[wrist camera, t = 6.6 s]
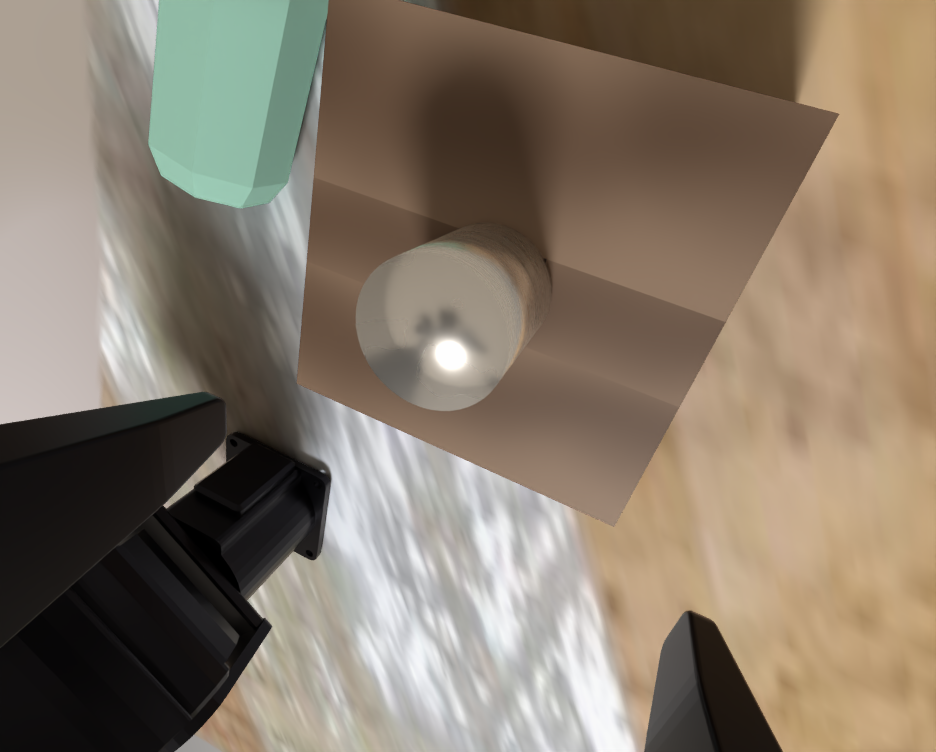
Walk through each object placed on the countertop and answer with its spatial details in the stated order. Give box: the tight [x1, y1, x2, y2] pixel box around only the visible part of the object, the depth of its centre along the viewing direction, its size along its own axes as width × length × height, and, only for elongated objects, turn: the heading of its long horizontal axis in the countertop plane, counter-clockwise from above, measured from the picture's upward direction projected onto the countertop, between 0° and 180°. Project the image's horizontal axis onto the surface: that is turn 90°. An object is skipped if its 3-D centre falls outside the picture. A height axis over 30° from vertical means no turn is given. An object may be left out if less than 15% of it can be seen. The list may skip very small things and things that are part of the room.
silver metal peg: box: [356, 222, 552, 411], centre depth 15 cm, size 4×4×8 cm
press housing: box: [297, 0, 839, 527], centre depth 17 cm, size 12×12×5 cm
